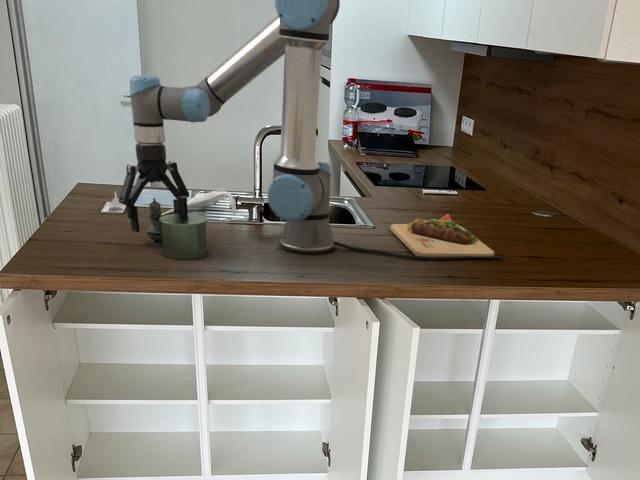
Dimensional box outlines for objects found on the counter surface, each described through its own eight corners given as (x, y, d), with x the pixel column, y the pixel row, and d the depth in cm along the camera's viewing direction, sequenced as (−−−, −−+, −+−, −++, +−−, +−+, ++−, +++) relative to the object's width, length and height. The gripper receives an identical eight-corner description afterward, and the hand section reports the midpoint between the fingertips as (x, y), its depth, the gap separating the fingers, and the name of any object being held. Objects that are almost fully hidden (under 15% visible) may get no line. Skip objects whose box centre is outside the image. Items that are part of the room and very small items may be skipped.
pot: (212, 250, 203) (211, 218, 199) (198, 261, 194) (196, 227, 189) (173, 246, 204) (171, 214, 200) (157, 256, 195) (154, 223, 191)
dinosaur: (161, 232, 251) (166, 235, 236) (152, 206, 247) (156, 208, 233) (231, 210, 255) (240, 212, 241) (223, 184, 251) (231, 184, 237)
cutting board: (388, 229, 236) (390, 204, 233) (458, 230, 241) (461, 206, 237) (417, 259, 207) (419, 231, 203) (496, 259, 212) (500, 232, 208)
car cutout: (107, 203, 246) (105, 188, 243) (127, 203, 247) (126, 189, 245) (100, 213, 233) (99, 198, 231) (122, 213, 234) (121, 198, 232)
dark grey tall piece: (146, 241, 208) (142, 195, 202) (167, 240, 209) (164, 195, 203) (147, 246, 203) (143, 200, 197) (169, 246, 205) (166, 200, 198)
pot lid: (213, 220, 199) (212, 194, 196) (197, 230, 189) (196, 203, 186) (170, 216, 201) (168, 190, 197) (152, 226, 191) (149, 198, 187)
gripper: (182, 139, 203) (188, 219, 214) (98, 144, 187) (109, 231, 198) (198, 142, 199) (203, 224, 210) (113, 148, 183) (123, 236, 194)
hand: (157, 228), depth 204 cm, fingers open, 13 cm apart
